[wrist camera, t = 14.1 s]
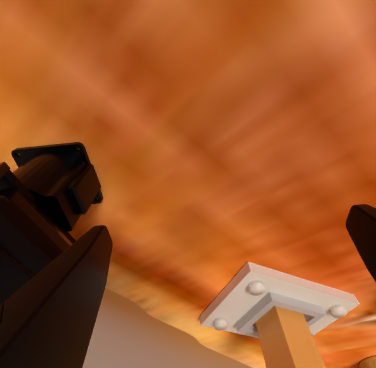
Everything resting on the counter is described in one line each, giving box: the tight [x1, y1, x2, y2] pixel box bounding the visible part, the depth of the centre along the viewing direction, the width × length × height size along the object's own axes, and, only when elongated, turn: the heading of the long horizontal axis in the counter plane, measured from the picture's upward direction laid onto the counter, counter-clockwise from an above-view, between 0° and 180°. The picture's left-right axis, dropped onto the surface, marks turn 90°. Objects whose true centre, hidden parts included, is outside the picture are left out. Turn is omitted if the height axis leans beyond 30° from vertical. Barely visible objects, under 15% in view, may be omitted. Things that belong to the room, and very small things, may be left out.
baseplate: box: [200, 262, 360, 338], centre depth 34 cm, size 18×14×3 cm
